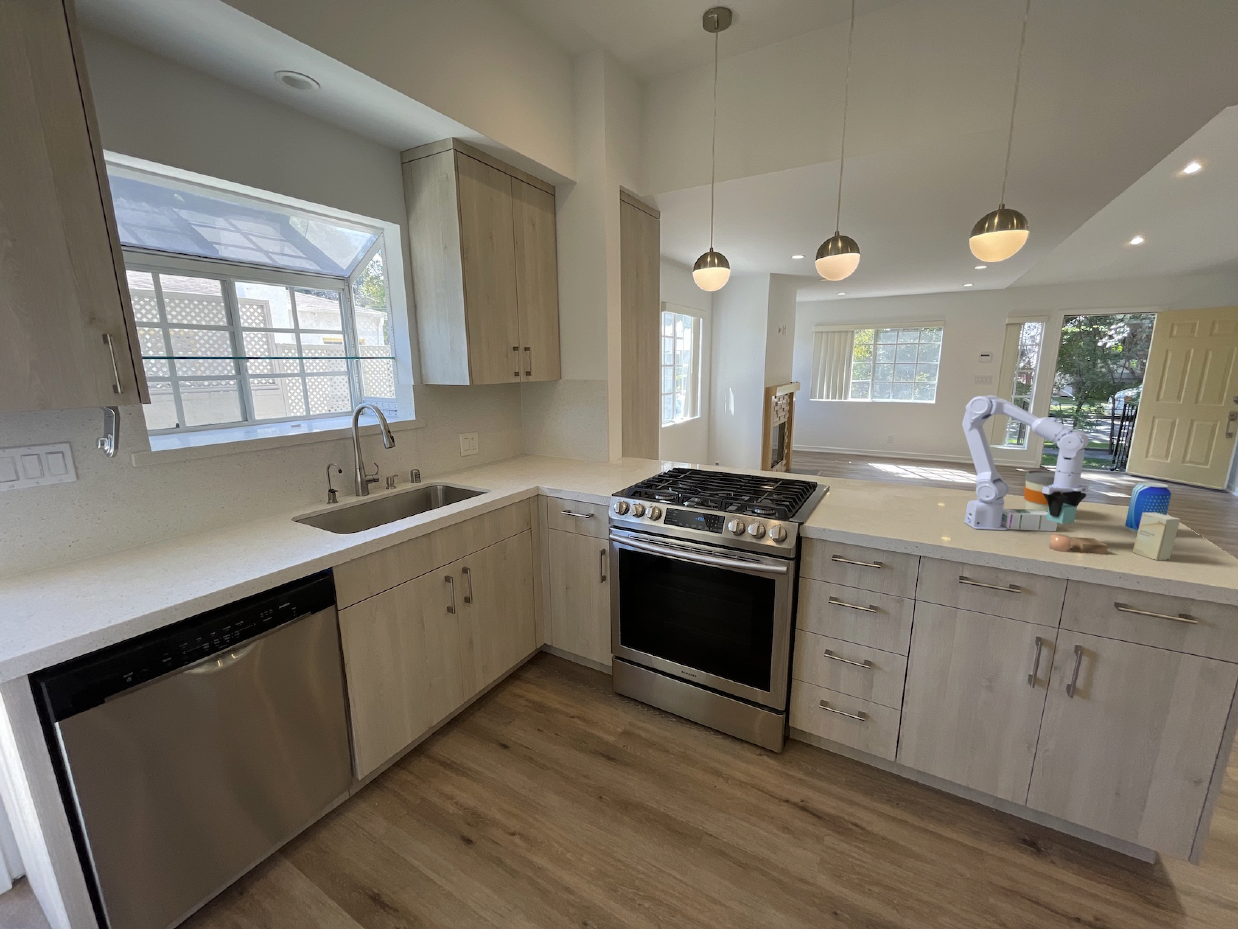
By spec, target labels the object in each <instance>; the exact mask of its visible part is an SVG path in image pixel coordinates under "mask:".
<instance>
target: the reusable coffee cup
mask: <svg viewBox="0 0 1238 929" xmlns="http://www.w3.org/2000/svg"><path fill="white" fill-rule="evenodd" d="M1054 477H1055V471H1050V470H1039V469H1038V470H1037V469H1036V470H1027V471H1026V473H1025V477H1024V480H1025V485H1024V487H1023V488H1024V489H1023V490H1024V491H1023V495H1024V496H1023V497H1024V498H1023V499H1024V500H1025V509H1028V510H1048V503H1047V500H1046V498H1045V496H1044V495H1043V493H1042V489H1043V487H1045V486H1049V485H1052V484H1054ZM1061 494H1062V493H1061Z"/></svg>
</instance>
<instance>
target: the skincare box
mask: <svg viewBox="0 0 1238 929" xmlns="http://www.w3.org/2000/svg"><path fill="white" fill-rule="evenodd" d="M1180 522H1181V518H1179V517H1174V516H1171V515H1168V514H1167V515H1163V514H1160V513H1156V512H1148V513H1142V517H1141V521H1140V525H1139V529H1138V533H1136V538H1135V542H1134V545H1133V548H1132V553H1134V554H1137V555H1140V556H1142V555H1143V557H1145V556H1146V557H1145V558H1148V557H1149V559H1150V558H1152V559H1151V560H1153V559H1155V560H1154V561H1168V560H1167V559H1169V560H1170V558H1171V554H1172V551H1173V547H1174V544H1175V541H1176V536H1177V532H1178V529H1179V525H1180Z"/></svg>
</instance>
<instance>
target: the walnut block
mask: <svg viewBox="0 0 1238 929" xmlns="http://www.w3.org/2000/svg"><path fill="white" fill-rule="evenodd" d="M1070 537H1071V538H1072V539H1071V544H1070V548H1072V549H1074V550H1075V549H1076V550H1075V551H1076V552H1079V553H1080V554H1081V553H1082V554H1091V553H1092V554H1094V555H1107V554H1108V549H1109V545H1108V544H1106V543H1104V542H1102V541H1099V540H1098V539H1096V538H1091V537H1076V536H1075V537H1074V536H1070Z"/></svg>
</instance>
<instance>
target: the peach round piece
mask: <svg viewBox="0 0 1238 929" xmlns="http://www.w3.org/2000/svg"><path fill="white" fill-rule="evenodd" d="M1071 537H1072V536H1069V535H1066V534H1063V533H1062V534H1061V533H1052V534H1051V536H1050V542H1049V547H1048V548H1049V549H1050V550H1052V549H1053V550H1052V551H1056V552H1061V553H1062V552H1063V553H1069V552H1070V548H1071V547H1070V544H1071V539H1072V538H1071Z"/></svg>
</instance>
